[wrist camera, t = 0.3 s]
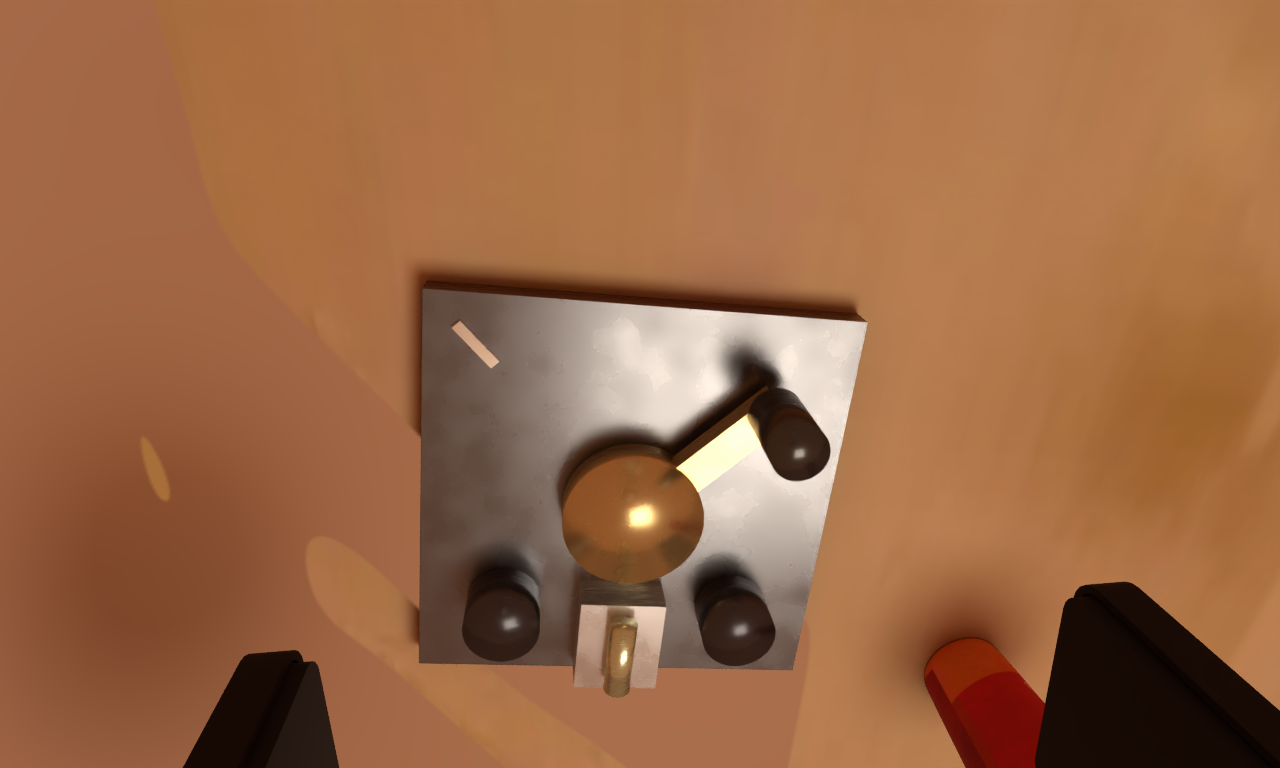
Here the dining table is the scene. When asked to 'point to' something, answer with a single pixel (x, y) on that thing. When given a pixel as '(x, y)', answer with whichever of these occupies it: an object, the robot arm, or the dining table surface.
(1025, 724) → the paper cup
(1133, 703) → the robot arm
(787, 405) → the crank dial
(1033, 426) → the dining table surface
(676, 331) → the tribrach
